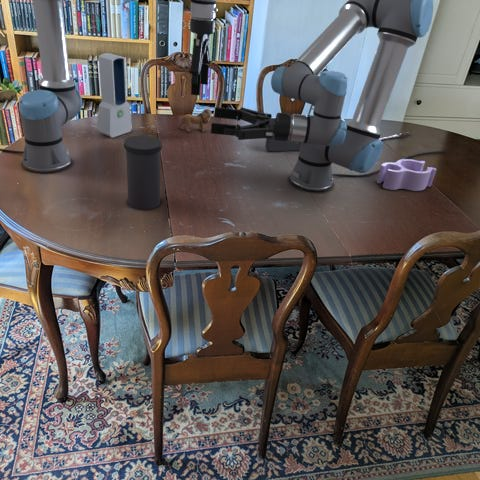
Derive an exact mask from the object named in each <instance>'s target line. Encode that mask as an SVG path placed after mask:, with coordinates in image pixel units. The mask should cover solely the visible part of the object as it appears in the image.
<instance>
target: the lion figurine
mask: <svg viewBox="0 0 480 480" xmlns="http://www.w3.org/2000/svg"><path fill="white" fill-rule="evenodd" d="M212 116H213V114H212V110H211V109H210V108H206V109H203V111H201V112H200V113H199V114H197V115H192V114H189V113H187V114H184V115H183V116H182V118H181V120H180V123H179V126H178V128H177V130H180V129H181V130H184V129H186V132H191V129H189V126H190V123H191V124H192V125H198V130H200V131H201V132H203V133H204V132H205V129H204V128H205V125H207V124H209V122H210V121H211V119H212ZM184 125H185V128H184V127H183V126H184Z"/></svg>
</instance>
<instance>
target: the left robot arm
mask: <svg viewBox="0 0 480 480" xmlns="http://www.w3.org/2000/svg"><path fill="white" fill-rule="evenodd" d="M63 6H64V5H63V0H32V7H33V12H34V13H33V14H34V21H35V28H36V35H37V43H38V49H39V58H40V65H41V73H42V77H41V79H40V80H39V82H38V87H39V89H37V90H36V89H35V90H33V91H28V92H25V93H24V94H22V95H21V96H20V98H19V100H18V105H19V106H18V111H19V114H20V119H21V126H22V132H23V136H24V148H23V151H22V150H12V149H6V148H0V152H6V153H14V154H22V158H21V159H22V160H21V161H22V166H23V168H24V169H25V170H27V171H29V172H33V173H39V174H46V173H56V172H61V171H63V170H66V169H67V168H69V167H70V166H71V163H72V159H71V155H70V151H69V149H68V148H67V147H66V145H65V143H64V140H63V132H62V126H64V125H65V124H67V123H68V122H69V121H71V120H73V119H74V118H76V116H78V114H79V113H80V112H81V110H82V107H83V98H82V93H80V91H79V90H78V89H77V87H76V81H75V80H74V79H72V78H71V75H70V74H71V73H70V64H69V55H68V45H67V36H66V27H65V26H66V24H65V18H64V7H63ZM216 6H217V0H190V13H189V14H190V19H189V20H190V21H189V31H190V32H191V33H193V34H195V35H196V38H193V40H192V41H193V48H192V56H191V63H190V69H189V71H188V73H189V74H191V83H190V84H191V85H190V87H191V88H190V95H191V96H201V85H205V86H208V85H209V67H210V65H212V60H211V47H210V46H211V45H210V44H211V42H210V36H211V35H214V34H215V31H216V29H215V28H216V21H215V20H214V19H215V18H216V12H218V11H219V10H218V8H217V7H216Z"/></svg>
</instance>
